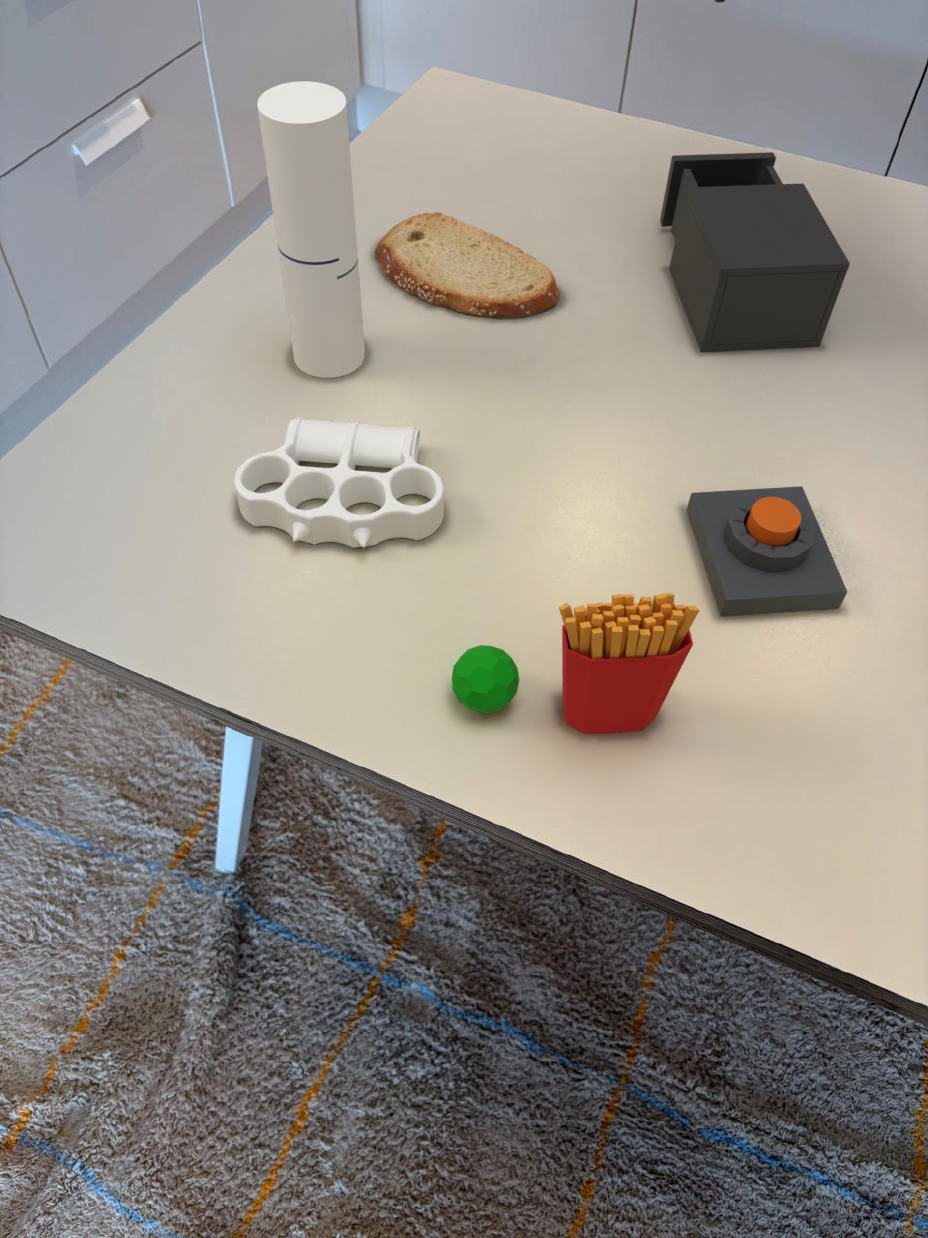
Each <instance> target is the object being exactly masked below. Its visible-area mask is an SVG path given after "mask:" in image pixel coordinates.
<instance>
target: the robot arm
mask: <svg viewBox="0 0 928 1238" xmlns="http://www.w3.org/2000/svg"><path fill="white" fill-rule="evenodd" d="M725 1H726V0H714V2H715V3H717V4H718V3H725Z"/></svg>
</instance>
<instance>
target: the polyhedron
mask: <svg viewBox="0 0 928 1238" xmlns="http://www.w3.org/2000/svg"><path fill="white" fill-rule="evenodd" d="M519 685H520V673H519V667H518V666H517V664H516V662H515V661H514V659H513V657H511V656H510V654H508V653H507V652H506V651H505V650H504V649H502V648H499V647H497V646H493V645H484V644H479V645H476V646H473V647H471V648H467V650H466V651H465V652H464V653H463V654H461V655H460V657H458V659H457V661H456V662H455V664H454V665H453V666H452V673H451V687H452V692H453V693H454V695H455V696H456V698H457V699H458V701H459V702H460V703H461V704H462V705H463V706H464V707H465V708H466V709H468V710H472V711H474V712H478V713H485V714H493V713H494V712H497V711H500V710H503V709H504V708H505V707H506V706H508V705H509V704H510V703H511V702H512V700H513V699H514V697H515V696H516V694H517V693H518V690H519Z"/></svg>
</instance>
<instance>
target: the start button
mask: <svg viewBox="0 0 928 1238" xmlns="http://www.w3.org/2000/svg"><path fill="white" fill-rule="evenodd" d="M800 523H801V514H800V512H799V510H798V508H797V507H796V506H795V505H794V504H792V503H791V502H789V501H787V500H785V499H782V498H778V497H765V498H762V499H760V500H758V501H756V502H755V503H754V505H753V506H752V509H751V512H750V515H749V517H748V520H747V529H748V532H749V534H750V535H751V536H752V537H753V538H754V539H755V540H756V541H758V542H760V543H763V544H766V545H769V546H784V545H786V544H788V543H790V542H791V541H792V540H793V539H794V537H795V535H796V533H797V530H798V528H799V526H800Z"/></svg>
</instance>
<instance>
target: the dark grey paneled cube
mask: <svg viewBox="0 0 928 1238" xmlns="http://www.w3.org/2000/svg"><path fill="white" fill-rule="evenodd" d="M850 265H851V262H850V261H849V260H848V258H847V256H846V255H845V252H844V251H843V249H842V248H841V245H840V244H839V242H838V240H837V238H836V237H835V235H834V233H833V232H832V230H831V228H830V227H829V225H828V223H827V222H826V220H825V218H824V216H823V214H822V213H821V211H820V209H819V207H818V205H817V204H816V202H815V200H814V199H813V197H812V195H811V194H810V192H809V190H808V189H807V187H806V185H805V183H783V184H774V185H745V186H716V187H687V188H686V189H685V195H684V199H683V204H682V209H681V214H680V218H679V223H678V228H677V233H676V238H675V239H674V243H673V249H672V253H671V257H670V262H669V268H668V270H669V271H668V272H669V273H670V275H671V278H672V280H673V284H674V286H675V288H676V289H675V290H676V291H677V294H678V296H679V299H680V302H681V304H682V307H683V310H684V313H685V315H686V318H687V320H688V322H689V325H690V329H691V331H692V333H693V335H694V338H695V341H696V343H697V346H698V348H699V351H700V352H701V353H705V352H707V353H708V352H731V351H749V350H750V351H751V350H752V351H753V350H768V349H769V350H771V349H789V348H790V349H791V348H793V349H794V348H807V347H808V348H813V347H820V346H821V344H822V341H823V338H824V336H825V333H826V330H827V327H828V324H829V322H830V319H831V316H832V314H833V311H834V309H835V305H836V302H837V300H838V297H839V294H840V292H841V289H842V286H843V283H844V282H845V281H844V280H845V278H846V276H847V272H848V271H849V268H850Z"/></svg>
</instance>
